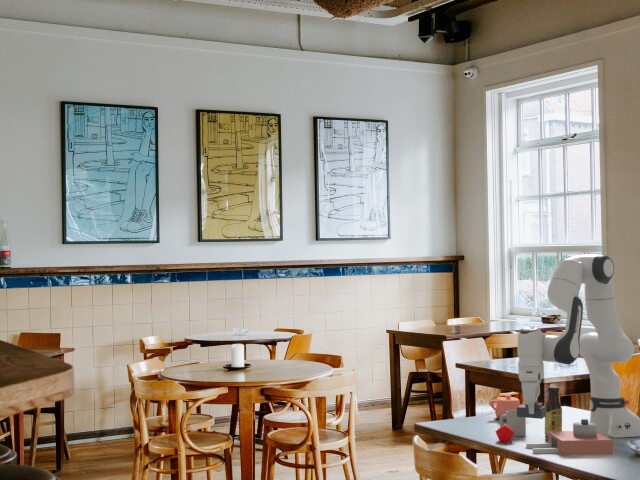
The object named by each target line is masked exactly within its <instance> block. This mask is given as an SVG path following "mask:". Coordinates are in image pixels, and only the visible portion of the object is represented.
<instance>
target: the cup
mask: <svg viewBox="0 0 640 480" xmlns="http://www.w3.org/2000/svg"><path fill="white" fill-rule="evenodd" d="M505 418H507V421H506V425H507V426H508V427H510V428H511V429H512V430H513V431H514V435H513V438H514V437H515V438H520V437H525V436H526V435H527V425H526V424H527V423H526V418H525V417H517V410H511V411H507V412H506V414H503V415H502V416H501V417H500V419H498V421H499V428H500V427H502V426H504V425H505V423H504V422H505V421H504V419H505Z"/></svg>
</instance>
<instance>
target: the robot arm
mask: <svg viewBox="0 0 640 480" xmlns="http://www.w3.org/2000/svg"><path fill="white" fill-rule="evenodd" d="M614 272H615V265H614V261H613V260H612V259H611V257H610V256H608V255H606V254H591V253H590V254H586V253H585V254H582V255H581V254H580V255H574V256H573V255H572V256H571V255H569V256H564V257H562V258H561V259H560V260H559V262H558V264H557V266H556V268H555V270H554V272H553V273H552V277H551V279H550V282H549V283H548V284H549V285H548V288H547V293H546V294H547V297H548V301H550V303H551V304H552V305H553V306H555V308H557V309H559V310H561V311H563V312H565V313H566V322H565V329H564V332H563V334H561V335H554V334H553V335H551V334H547V333H544V332H543V331H541V329H540V327H538V326H528V327H523V328H520V329H519V331H518V335H517V356H518V365H517V367H518V368H517V369H518V371H517V372H518V379H519V382H520V383H521V390H522V391H521V393H522V398H523V401H524V403H527V404H528V408H529V414H534V413H535V412H534V403H538V401H537V400H538V397H539V396H540V394H541V387H540V385H541V382H542V380H543V379H544V378H545V366H544V362H548V363H558V364H564V365H566V366H567V365H571V364H573V363H574V362H575V361H576V360H577V359H578V358H579V356H580V355H581V357H582V358H583V360H584V361H585V364H586V367H587V371H588V373H589V380H590V381H589V383H590V384H589V385H590V396H589V411H590V413H589V414H590V415H589V416H590V417H589V421H588V422H589V423H595V424H596V425H597V431H598V432H600V433H601V434H603V435H605V436H607V437H609V438H612V439H617V438H620V439H621V438H635V437H640V417H639V416H638V415H637V414H636V413H634V412H633V411H632V410H631V409H629V408H628V407H626V405H629V406H630V399H628V398H624V397H621V392H622V391H621V390H622V389H621V378H620V375H619V374H618V373H617V371H615V369H614V366H613V364H612V363H615V364H618V363H619V364H620V363H621V364H622V363H627V362H628V361H630V360H631V359H632V357H633V356H634V352H635V345H634V343H633V341H632V340H631V339H630V338H629V337H628V336H627V335H626V333H625V332H624V330H623V328H622V326H621V324H620V320H619V318H618V312H617V303H616V295H615V288H614V283H613V280H612V278H613V276H614ZM582 284H585V285H584V287H585V288H584V292H585V293H584V295H585V298H584V299H585V308H586V317H587V320H588V321H589V322H590V324H592V325H593V328H594V329H595V332H594V331H593V332H587V333H585V332H584V333H582V334H581V330H582V322H583V313H584V304H583V301H582V299H581V298H580V296H579V295H580V290H581V287H582Z"/></svg>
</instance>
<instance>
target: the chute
mask: <svg viewBox="0 0 640 480" xmlns="http://www.w3.org/2000/svg"><path fill="white" fill-rule="evenodd" d="M543 404H544V403H543V402H537V403H534V412H535V413H534V414H529V408H528V404H527V403H526V404H525V405H522V404H520V406H518V407H517V417H525V418H529V419H539V420H540V419H541V420H543V419H545V417H546V406H543Z"/></svg>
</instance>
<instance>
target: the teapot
mask: <svg viewBox="0 0 640 480" xmlns="http://www.w3.org/2000/svg"><path fill="white" fill-rule="evenodd" d="M494 403H495V405H494ZM488 404H489V406H490V407H491V408H492V410H494V413H495V416H496V418H497V419H498V420H500V417H501V416H502V415H503V414H506V412H507V411H511V410H517V407H518V406H520V405H525V404H526V403H524V400H523V401H522V404H521V402H520V399H519V398H517V397H514V396H512V395H511V394H505V395H504V396H501V397H500V396H499V397H497V398H496V399H491V400H489V403H488ZM504 422H507V418H505V419H504Z"/></svg>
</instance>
